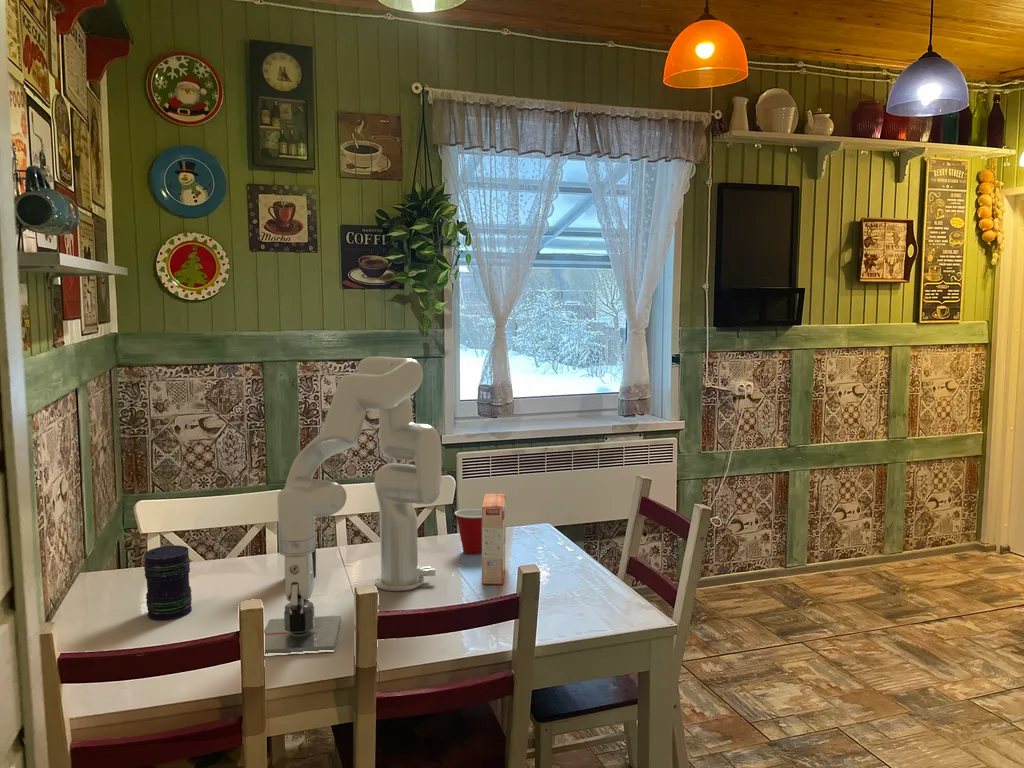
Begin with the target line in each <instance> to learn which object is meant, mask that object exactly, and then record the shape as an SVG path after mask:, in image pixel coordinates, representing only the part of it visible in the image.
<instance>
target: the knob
mask: <svg viewBox="0 0 1024 768" xmlns="http://www.w3.org/2000/svg"><path fill="white" fill-rule="evenodd" d="M300 603H301V602H298V604H299V605H300ZM304 612H305V626H306V629H305V631H298V632H291V631H290V618H289V614H290V602H288V603H287V604H286V605H285V606H284V612H283V613H284V614H283V616H284V618H283V619H284V620H285V630H286V631H288V632H291V633H301V632H306V631H308V630H311V629H313V628H314V624H315V620H314V617H315V606H314V603H313V602H312V601H310V600H309V601H304Z"/></svg>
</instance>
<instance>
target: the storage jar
mask: <svg viewBox="0 0 1024 768" xmlns="http://www.w3.org/2000/svg"><path fill="white" fill-rule="evenodd" d="M189 555H190V554H189V547H187V546H184V545H165V546H159V547H155V548H152V549H149V550H146V551H145V552H144V554H143V558H144V567H143V568H144V576H145V577H144V578H145V579H146V590H147V592H146V594H145V595H146V596H145V602H146V608H147V609H146V610H147V618H148V619H149V620H152V621H153V622H154V621H156V622H168V621H174V620H178V619H181V618H184V617H186V616H187V615H189V614H191V612H193V611H192V600H193V599H192V588H191V586H190V572H191V567H190V564H191V563H190V561H191V560H190V556H189Z"/></svg>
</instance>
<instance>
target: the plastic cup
mask: <svg viewBox="0 0 1024 768" xmlns="http://www.w3.org/2000/svg"><path fill="white" fill-rule="evenodd" d="M454 515H455V517H456V520H457V524H458V531H459V535H460V536H459V537H460V541H461V545H462V546H461V547H462V550H463V553H464V552H465V553H464V554H466V553H467V554H466V555H470V554H475V555H480V554H482V509H478V508H477V509H476V508H475V509H474V508H469V509H467V508H466V509H460V510H455V512H454ZM479 553H480V554H479Z"/></svg>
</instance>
